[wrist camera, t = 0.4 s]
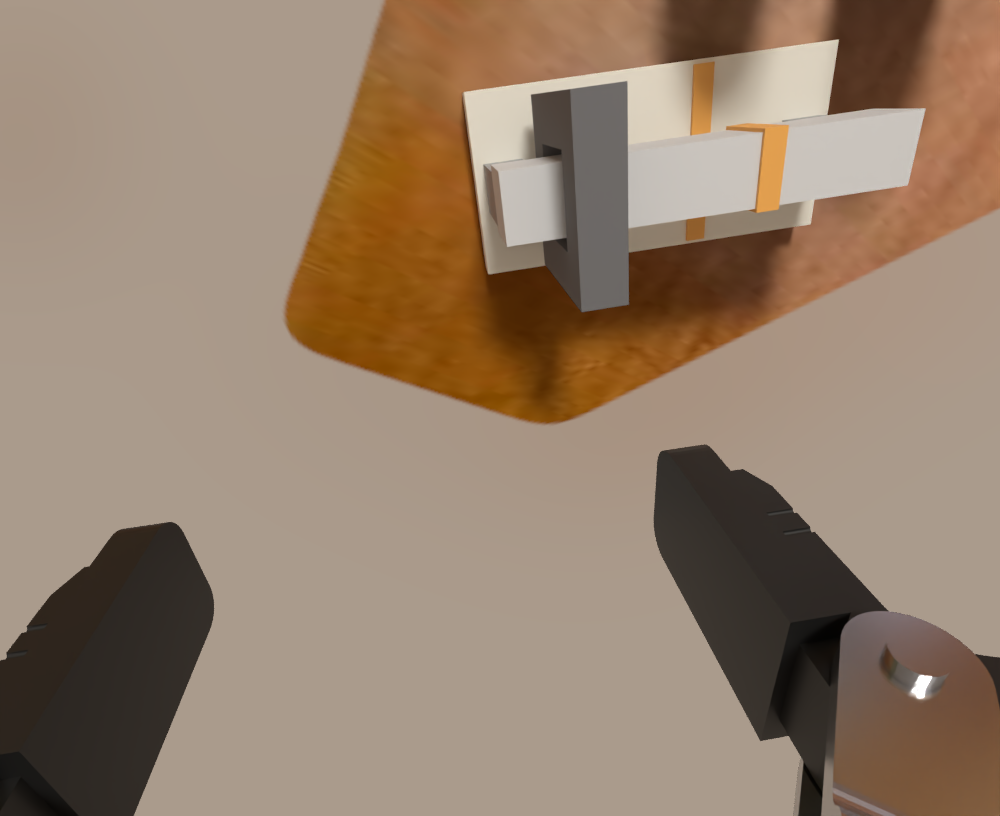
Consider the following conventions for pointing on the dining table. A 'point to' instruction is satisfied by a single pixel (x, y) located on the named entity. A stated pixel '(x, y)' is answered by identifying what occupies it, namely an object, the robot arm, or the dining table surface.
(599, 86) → the collar
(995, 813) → the robot arm
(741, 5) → the dining table surface
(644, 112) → the white bar stand
